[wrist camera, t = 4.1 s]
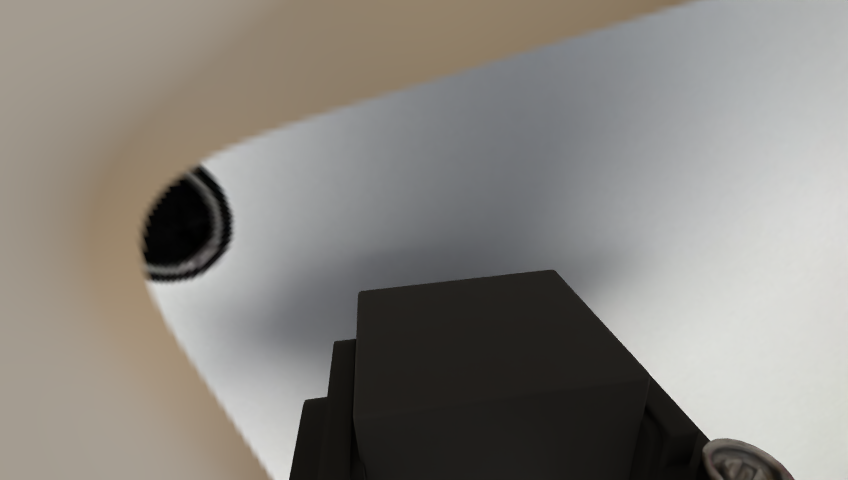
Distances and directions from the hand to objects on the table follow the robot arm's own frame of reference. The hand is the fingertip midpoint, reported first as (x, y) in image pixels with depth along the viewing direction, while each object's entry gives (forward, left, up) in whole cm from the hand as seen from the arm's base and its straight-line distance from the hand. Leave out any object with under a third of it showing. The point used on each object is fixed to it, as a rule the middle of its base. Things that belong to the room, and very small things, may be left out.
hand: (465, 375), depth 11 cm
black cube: (0, 0, -1) cm, 1 cm away
